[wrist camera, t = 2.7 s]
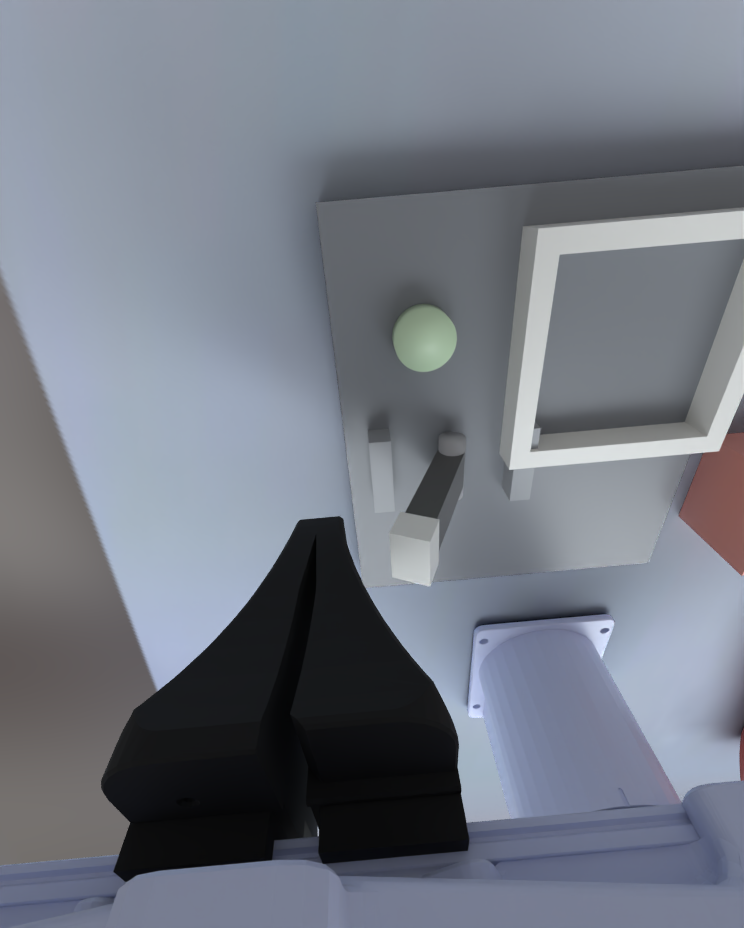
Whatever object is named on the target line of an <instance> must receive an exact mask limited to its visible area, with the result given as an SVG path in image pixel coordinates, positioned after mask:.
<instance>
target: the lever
mask: <svg viewBox="0 0 744 928" xmlns="http://www.w3.org/2000/svg"><path fill="white" fill-rule="evenodd" d="M465 449H466V436H465V435H464V434H462V433H460V432H454V431H450V432H444V433H442V434H440V435H439V445H438V450H437V452H436V454H435V456H434V458H433V460H432V462H431V464H430V466H429V468H428V470H427V471H426V473H425V475H424V477H423V479H422V481H421V483H420V485H419V487H418V489H417V491H416V493H415V494H414V496H413V498H412V500H411V502H410V504H409V506H408V508H407V510H406V512H405V513H404V512H400V514H399V516H398V518H397V519H396V521H395V523H394V525H393V527H392V529H391V531H390V533H389V537H390V552H391V567H392V577H393V578H397V579H401V580H405V581H409V582H413V583H417V584H421V585H424V586H428V587H430V586H431V583H432V580H433V578H434V575H435V572H436V569H437V567H438V564H439V550H440V547H441V545H442V542H443V539H444V537H445V534H446V531H447V529H448V526H449V523H450V521H451V518H452V515H453V513H454V510H455V507H456V505H457V502H458V500H460V499H461V498H462V497H463V487H464V468H465Z"/></svg>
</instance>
